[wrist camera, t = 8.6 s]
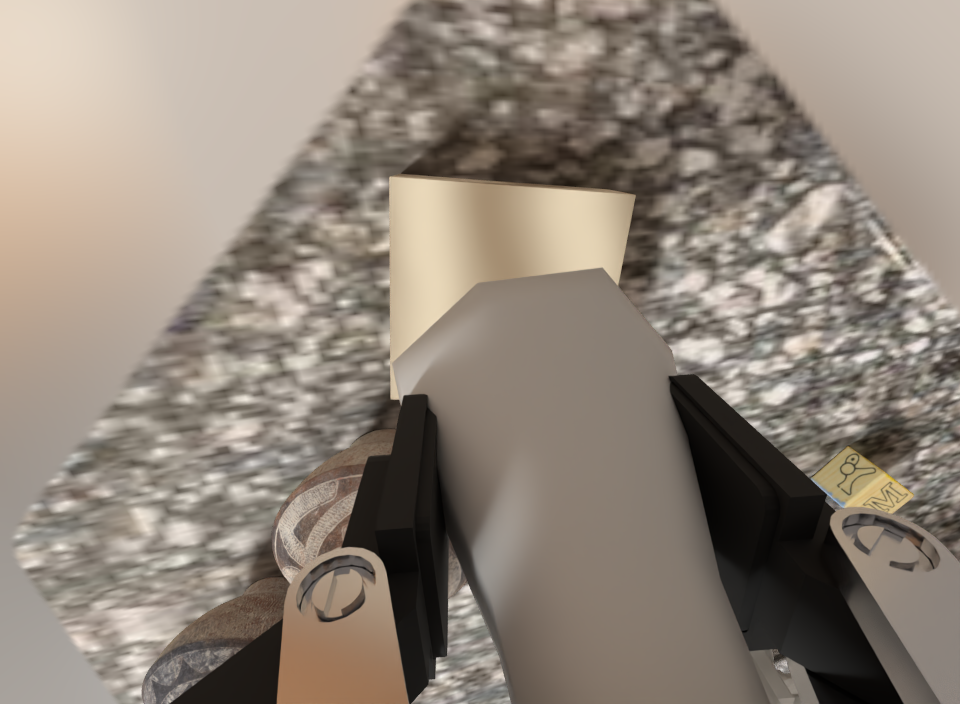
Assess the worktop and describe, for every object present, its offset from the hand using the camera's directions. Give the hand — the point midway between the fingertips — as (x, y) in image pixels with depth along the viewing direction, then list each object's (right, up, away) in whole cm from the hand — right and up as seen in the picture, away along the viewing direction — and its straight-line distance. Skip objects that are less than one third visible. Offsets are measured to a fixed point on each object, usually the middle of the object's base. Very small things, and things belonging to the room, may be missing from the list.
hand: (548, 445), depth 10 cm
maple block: (-1, +6, +14) cm, 15 cm away
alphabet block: (+22, -6, +20) cm, 30 cm away
